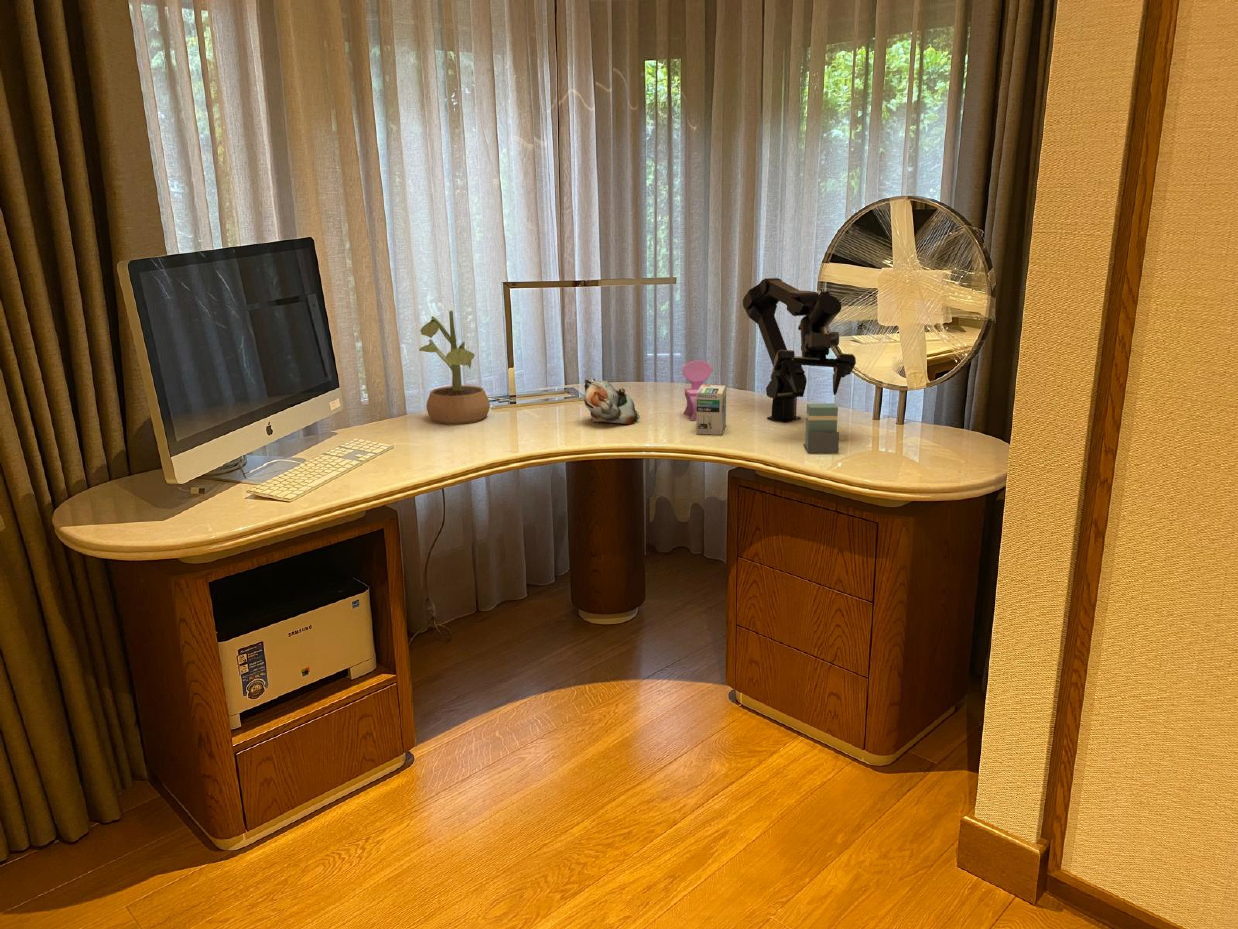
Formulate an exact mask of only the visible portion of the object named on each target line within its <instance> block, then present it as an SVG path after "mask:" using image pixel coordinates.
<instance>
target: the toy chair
mask: <svg viewBox="0 0 1238 929" xmlns="http://www.w3.org/2000/svg"><path fill="white" fill-rule="evenodd" d="M681 373H682V375H683V376H684V378H686V379H687V380H688V381H689V382H691V385H690V386H691V388H684V397H685V399H686V406H685V409H684V411H683V415H692V416H691V418H690V420H689V421H690V422H695V421H694V420H696V419H697V391H698V390H699V388H700V386H701V385H704V384H703V383H704V382H705V381H707V380H708V379H710V377H711V375H712V373H713V367H712V364H710V363H708V362H706V361H704V360H698V359H697V360H691V361H690V362H687V363H685V365H683V367H682V369H681Z"/></svg>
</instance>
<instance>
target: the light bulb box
mask: <svg viewBox="0 0 1238 929" xmlns="http://www.w3.org/2000/svg"><path fill="white" fill-rule="evenodd" d="M726 419H727V386H726V385H720V384H719V385H715V384H703V385H701V386H700V388H699V390H698V391H697V419H696V421H695V422H696V425H695V426H696V428H695V429H696V430H695V433H696V435H708V434H710V435H713V436H723V433H724V432H725V429H726V427H725V426H727V423H726V422H727V420H726Z"/></svg>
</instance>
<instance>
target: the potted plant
mask: <svg viewBox="0 0 1238 929" xmlns="http://www.w3.org/2000/svg"><path fill="white" fill-rule="evenodd" d="M448 313H449V314H448V315H449V316H448V317H449V331H450V333H449V332H448V331H447V329H446V328H445V327H444V325H443V323H441V322H440V320H439V319H438V318H436V317H435V316H431V318H430V319H431V320H430V321H429V322H427V323H425V324H424V325H423V326H422V327H421V329H420V330H419V332H420V335H422V336H426V337H428V338H430V339H429V340H428V342H429V343H428V344H425V345H423V346H421V347H420V348H419V349H418V351H419V352H427V353H436V354H437V356H439V358H440V359H441V360H442V361H444V363H446V365H447V366H448V367H449V369H450V371H451V375H452V377H451V378H452V381H451V385H449V386H448V385H447V386H442V387H441V386H440V387H437V388H434V389H432V390H431V391H430V392H429V396H428V398H427V401H426V406H425V407H426V412H427V414H428V416H429V418H430V419H431V420H432V421H434V422H435V423H437V424H442V425H443V424H444V425H465V424H472V423H476V422H480V421H482V420H484V418H486V417H487V416H488V414H489V412H490V406H491V404H490V400H489V397H488V396H487V394H486V391H485V390H484V388H483V387H480V386H476V385H466V384H465V385H464V384H463V385H462V374H461V366H467V367H468V368H469V370H471V366H472V360H473V359H475V355H476V354H475V353H473V352H472V351H469V350H468V349H467V348H465V346H466V344H465V343H466V342H465V340H463V341H462V342H461V344H460V345H459V347H458V346H457V336H456V330H455V321H454V311H453V310H451V309H450V310H448ZM439 330H440V332H441V333H442V335H443V336H444V338H445V339H446V341H448V343H449V344H450V351H448V353H447V354H446V355H445V354H444V353H443V352H442V350H440V348H439V347H438V346H437V345H436V343H435V342H434V341H433V340H432V339H431V338H433V337H434V336H435V335H436V334H437V333H438V331H439Z"/></svg>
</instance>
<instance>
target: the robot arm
mask: <svg viewBox="0 0 1238 929" xmlns="http://www.w3.org/2000/svg"><path fill="white" fill-rule="evenodd" d="M779 302H781V303H783V304H784V305H785V306H786V310H787V312H788V313H789V314H791V316H793V317H802V318H801V319H800V322H799V325H798V327H797V330H798V331H800V344H801V345H800V351H801V356H799V355H796V354H795V353H796V352H795V351H794V350H793V349H792V350H789V349H788V348H787V346H786V343H785V340H784V338H783V335H782V332H781V329H780V328H779V325H778V324H779V323H778V322H777V320H776V317H775V314H776V311H777V308H778V304H779ZM742 307H743V309H744V310H745V312H746V315H747V316H748V318H749V319H750V320H752V321H753V322H754V323H755V324H757V326H758V329H759V332H760V334H761V337H762V339H763V343H764V346H765V348H766V351H767V353H768V356H769V359H770V361H771V364H772V370H771V371H772V372H771V374H770V379H771V380H770V381H769V383H768V384H767V386H766V387H765V391H766V392H765V394H766V396H767V397H769V398H771V399H772V403H771V415H770V416H767V419H768V420H772V421H775V422H782V423H787V424H788V423H790V422H793V421H799V420H801V418H802V417H801V416H797V404H798V403H797V402H798V399H797V398H803V397H804V395H805V391H806V387H807V382H808V381H807V377H806V375H805V373H806V372H805V370H804V369H803V366H809V367H821V368H822V367H823V368H832V369H833V374H832V391H833V395H834V396H836V395H837V393H838V390H839V386H840V383H841V380H842V378H845V377H846V376H849V375H851V374H852V371H853V369H854V368H855V366H856V364H857V361H856V360H857V358H856V356H855V355H854V354H852V353H842V352H841V353H838V354H837V356H836V358H827V356H828V355H829V354H830V349H831V348H832V347H837V346H839V345H840V344H839V343H840V334H839V331H831V332H830V333H825V331H826V330H825V328H826V327H829V326H830V325H831V323H832V322H833V321H834V320H835V318H836V317H837V316H838V315H839V313H840V312H841V311H842V303H841V301H840V300H838V298H837V297H835V296H833V295H831V293H830V291H825V290H824V291H821V292H820V293H818V292H817V291H812V290H800V289H798V288H796V287H794V286H792V285H791V284H788V283H786V282H785V281H783V280H782V279H781V278H778V277H771V278H770V277H769V278H764V279H761V281H760V282H759V283H758V284H757V285H755V286H753V287H752V288H750V289H749V290H748V291H747V292H746V294H745V296H744V297H743V299H742ZM767 419H766V420H767Z"/></svg>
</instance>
